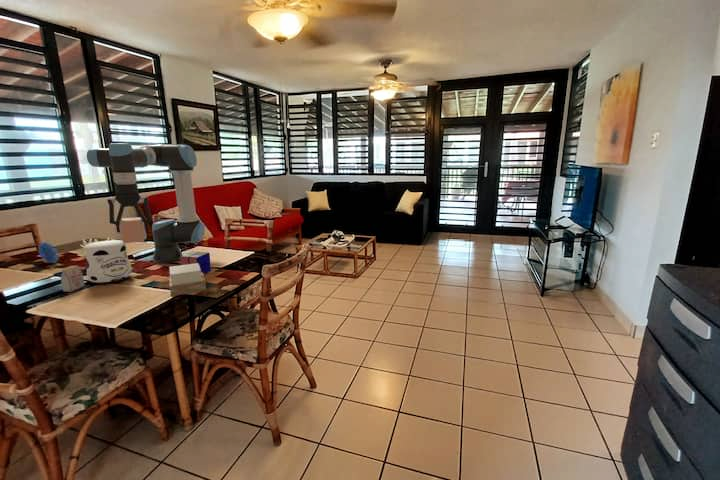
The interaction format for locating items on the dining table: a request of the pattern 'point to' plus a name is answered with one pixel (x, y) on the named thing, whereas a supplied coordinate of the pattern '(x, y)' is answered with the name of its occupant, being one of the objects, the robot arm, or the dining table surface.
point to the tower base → (188, 287)
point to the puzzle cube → (197, 260)
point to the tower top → (185, 274)
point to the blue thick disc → (48, 252)
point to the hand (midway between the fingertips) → (134, 238)
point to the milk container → (107, 261)
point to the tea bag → (72, 279)
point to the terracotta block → (132, 230)
